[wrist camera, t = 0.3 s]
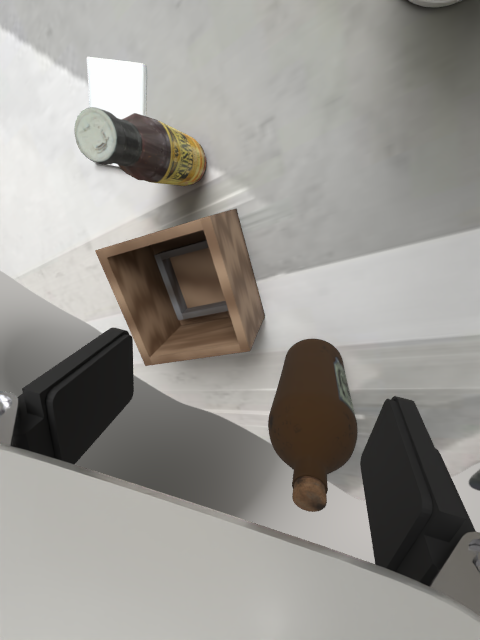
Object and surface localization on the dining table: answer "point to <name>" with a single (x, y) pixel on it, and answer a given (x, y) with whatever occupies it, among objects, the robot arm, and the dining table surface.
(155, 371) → the dining table surface
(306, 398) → the olive oil
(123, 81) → the external hard drive
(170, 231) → the walled box
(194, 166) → the sauce bottle
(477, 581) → the robot arm
